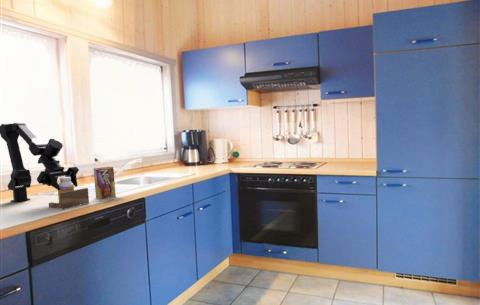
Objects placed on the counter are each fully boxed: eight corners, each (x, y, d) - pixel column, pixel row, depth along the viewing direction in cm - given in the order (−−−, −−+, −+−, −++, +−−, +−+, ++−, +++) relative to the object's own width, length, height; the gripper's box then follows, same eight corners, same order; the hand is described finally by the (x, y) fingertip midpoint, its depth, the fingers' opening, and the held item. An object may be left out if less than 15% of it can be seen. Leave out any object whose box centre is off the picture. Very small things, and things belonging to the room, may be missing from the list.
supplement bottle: (60, 207, 165) (58, 178, 164) (57, 205, 170) (55, 177, 169) (76, 204, 169) (74, 177, 168) (73, 202, 174) (71, 176, 173)
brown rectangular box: (47, 207, 165) (46, 192, 165) (74, 201, 178) (73, 187, 177) (62, 209, 161) (61, 193, 160) (88, 202, 173) (87, 188, 172)
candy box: (112, 195, 190) (111, 166, 189) (116, 196, 187) (114, 166, 186) (95, 198, 185) (93, 167, 184) (98, 199, 181) (96, 168, 180)
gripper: (60, 172, 184) (77, 195, 180) (24, 178, 167) (42, 203, 163) (70, 157, 180) (87, 180, 175) (34, 161, 163) (52, 186, 159)
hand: (68, 187), depth 168 cm, fingers open, 9 cm apart
